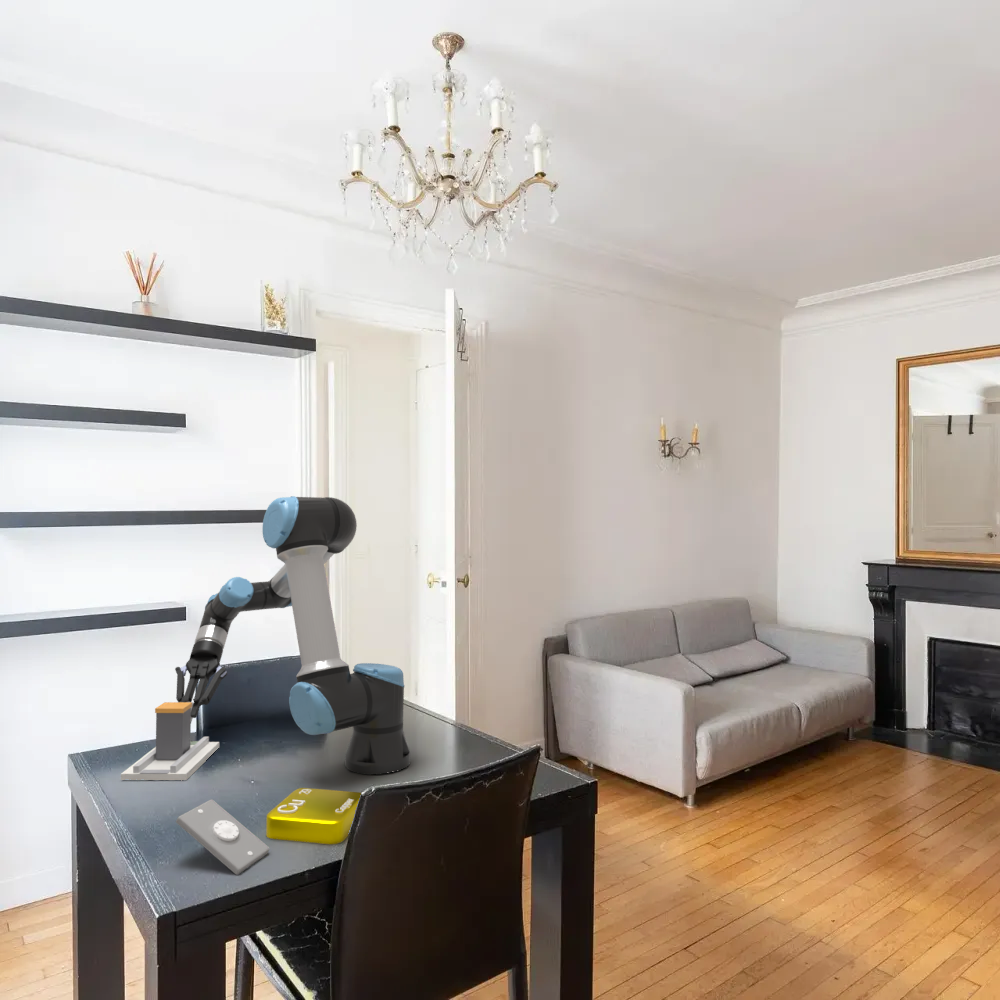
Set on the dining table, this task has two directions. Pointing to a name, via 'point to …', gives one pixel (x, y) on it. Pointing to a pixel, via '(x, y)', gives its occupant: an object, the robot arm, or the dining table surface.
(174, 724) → the handle
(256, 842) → the light switch
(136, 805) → the dining table surface
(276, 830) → the element tile
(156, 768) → the railed base plate
